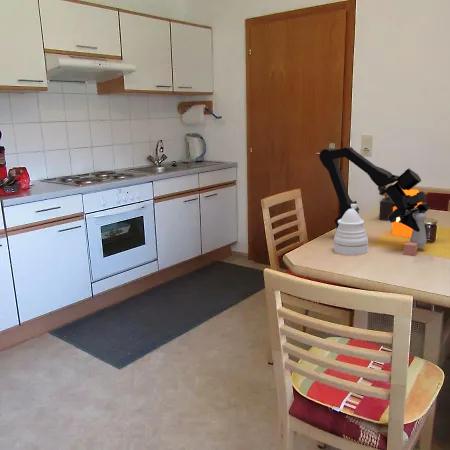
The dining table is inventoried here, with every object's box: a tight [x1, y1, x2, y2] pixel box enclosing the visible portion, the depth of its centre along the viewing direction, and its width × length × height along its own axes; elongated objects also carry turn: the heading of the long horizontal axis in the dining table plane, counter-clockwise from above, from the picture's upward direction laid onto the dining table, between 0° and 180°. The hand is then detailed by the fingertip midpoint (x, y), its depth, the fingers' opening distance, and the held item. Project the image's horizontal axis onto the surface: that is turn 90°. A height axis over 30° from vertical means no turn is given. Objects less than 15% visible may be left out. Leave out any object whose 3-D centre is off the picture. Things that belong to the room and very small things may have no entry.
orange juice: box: [391, 188, 422, 239], centre depth 192 cm, size 8×9×20 cm
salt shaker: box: [409, 213, 427, 249], centre depth 171 cm, size 6×6×13 cm
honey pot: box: [333, 203, 369, 256], centre depth 174 cm, size 13×13×18 cm
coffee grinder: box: [377, 186, 393, 222], centre depth 221 cm, size 16×11×18 cm
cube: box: [403, 241, 419, 257], centre depth 168 cm, size 4×4×4 cm
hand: (422, 230), depth 170 cm, fingers closed on salt shaker, 3 cm apart
